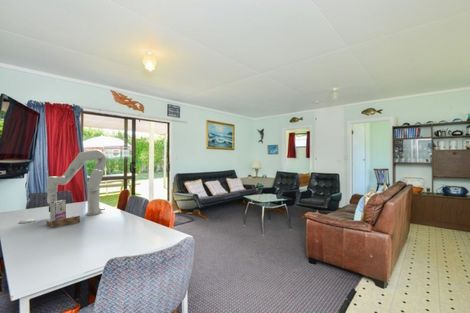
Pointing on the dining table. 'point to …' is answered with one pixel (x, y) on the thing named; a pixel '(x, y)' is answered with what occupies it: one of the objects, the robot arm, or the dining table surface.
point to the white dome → (27, 220)
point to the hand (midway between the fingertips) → (51, 211)
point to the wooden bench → (63, 221)
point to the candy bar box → (57, 210)
